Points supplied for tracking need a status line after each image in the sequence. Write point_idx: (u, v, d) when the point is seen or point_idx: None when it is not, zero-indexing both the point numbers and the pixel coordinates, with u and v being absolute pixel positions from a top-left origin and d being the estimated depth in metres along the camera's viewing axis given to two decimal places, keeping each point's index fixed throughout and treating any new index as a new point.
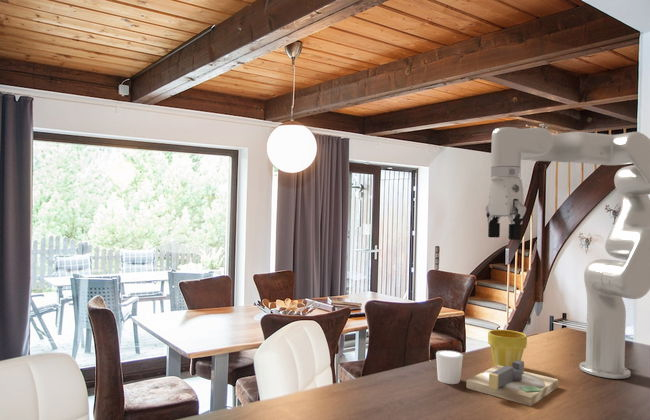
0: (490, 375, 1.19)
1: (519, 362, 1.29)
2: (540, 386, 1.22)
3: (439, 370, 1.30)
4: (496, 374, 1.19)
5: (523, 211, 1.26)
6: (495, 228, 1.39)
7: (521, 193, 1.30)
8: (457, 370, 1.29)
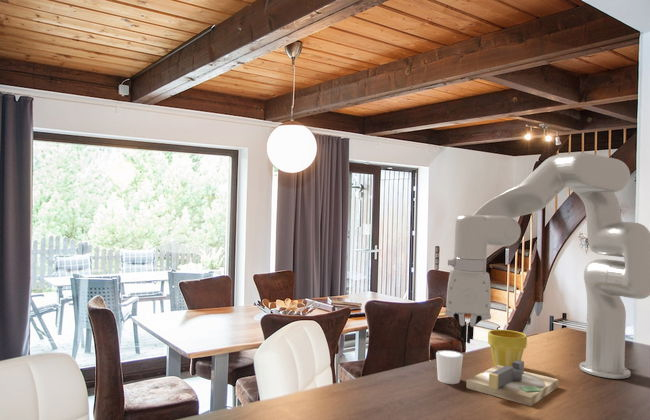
0: (490, 375, 1.19)
1: (519, 362, 1.29)
2: (540, 386, 1.22)
3: (439, 370, 1.30)
4: (496, 374, 1.19)
5: (448, 315, 1.23)
6: None
7: (448, 286, 1.21)
8: (457, 370, 1.29)
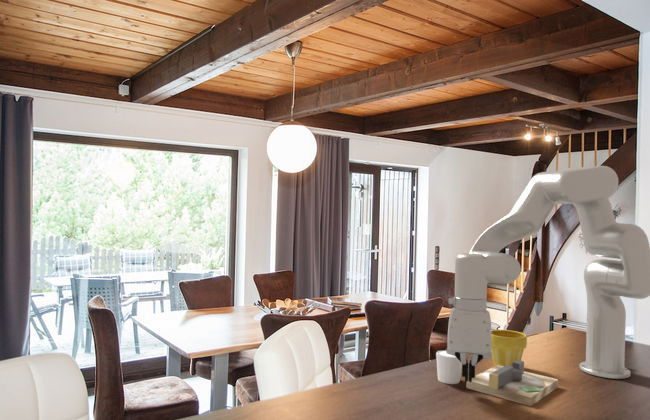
0: (490, 375, 1.19)
1: (519, 362, 1.29)
2: (540, 386, 1.22)
3: (439, 370, 1.30)
4: (496, 374, 1.19)
5: None
6: None
7: (448, 325, 1.22)
8: (457, 370, 1.29)
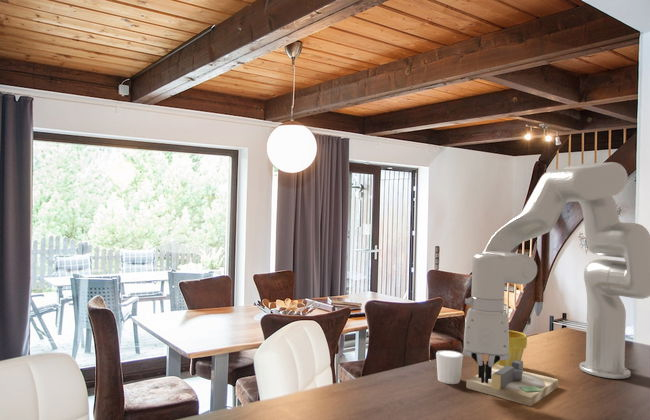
0: (492, 376, 1.18)
1: (518, 362, 1.29)
2: (540, 386, 1.22)
3: (439, 370, 1.30)
4: (498, 375, 1.19)
5: None
6: None
7: (465, 325, 1.20)
8: (457, 370, 1.29)
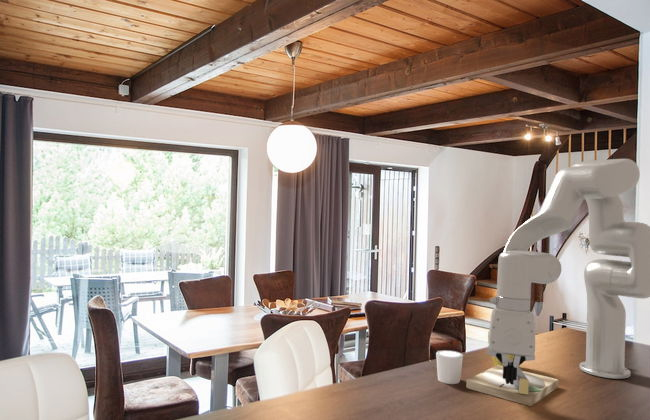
0: (521, 380, 1.16)
1: None
2: (540, 386, 1.22)
3: (439, 370, 1.30)
4: (525, 378, 1.16)
5: (490, 354, 1.20)
6: None
7: (490, 325, 1.18)
8: (457, 370, 1.29)
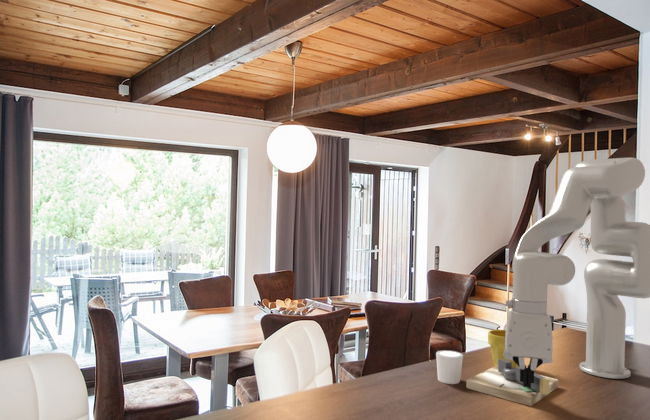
0: (544, 381, 1.16)
1: (506, 360, 1.30)
2: None
3: (439, 370, 1.30)
4: (545, 378, 1.17)
5: (507, 358, 1.19)
6: (527, 375, 1.18)
7: (506, 328, 1.18)
8: (457, 370, 1.29)
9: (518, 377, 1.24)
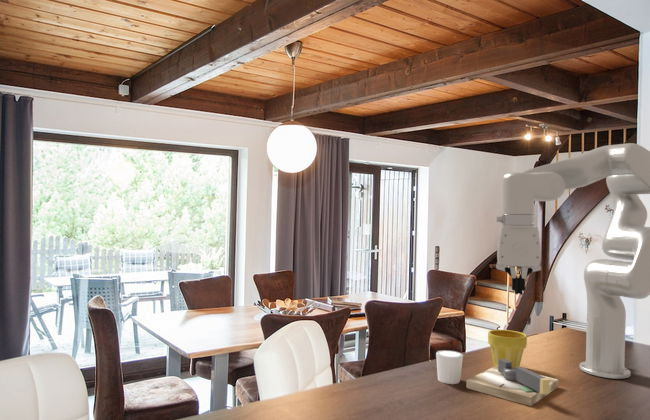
0: (544, 381, 1.16)
1: (506, 360, 1.30)
2: None
3: (439, 370, 1.30)
4: (545, 378, 1.17)
5: (499, 269, 1.29)
6: None
7: (498, 241, 1.27)
8: (457, 370, 1.29)
9: (518, 377, 1.24)
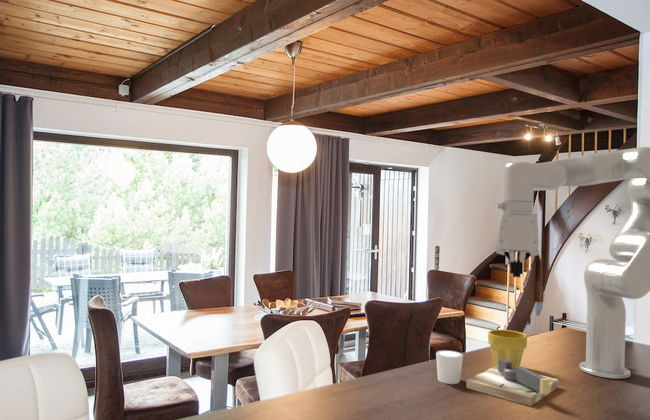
0: (544, 381, 1.16)
1: (506, 360, 1.30)
2: None
3: (439, 370, 1.30)
4: (545, 378, 1.17)
5: (499, 253, 1.36)
6: None
7: (498, 227, 1.35)
8: (457, 370, 1.29)
9: (518, 377, 1.24)
